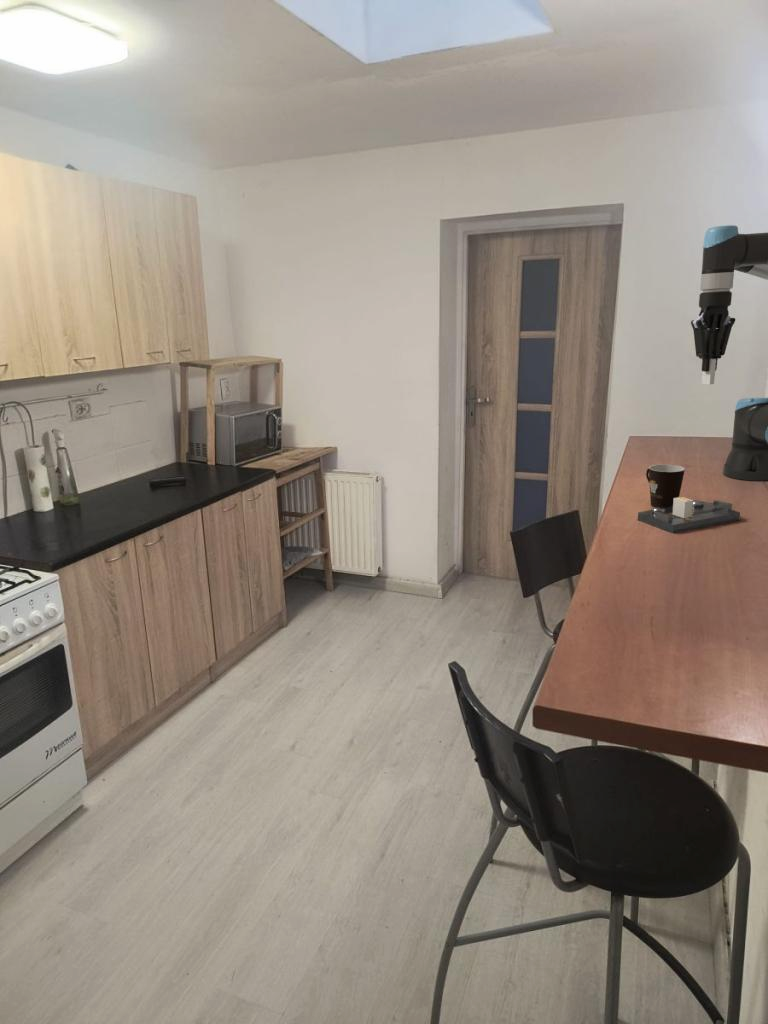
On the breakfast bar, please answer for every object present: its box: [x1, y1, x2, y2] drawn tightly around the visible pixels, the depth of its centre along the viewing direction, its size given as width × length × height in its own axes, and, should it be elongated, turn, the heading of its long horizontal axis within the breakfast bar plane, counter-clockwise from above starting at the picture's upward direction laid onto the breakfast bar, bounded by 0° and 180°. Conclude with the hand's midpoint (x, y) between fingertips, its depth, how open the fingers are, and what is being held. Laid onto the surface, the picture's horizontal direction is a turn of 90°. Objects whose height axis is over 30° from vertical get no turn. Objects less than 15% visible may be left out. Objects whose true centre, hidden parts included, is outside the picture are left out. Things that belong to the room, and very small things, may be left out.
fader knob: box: [673, 496, 693, 518], centre depth 158 cm, size 2×4×4 cm, turn 20°
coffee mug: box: [645, 463, 686, 508], centre depth 174 cm, size 12×9×10 cm
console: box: [637, 499, 741, 534], centre depth 161 cm, size 20×12×4 cm, turn 110°
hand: (707, 383), depth 178 cm, fingers closed
